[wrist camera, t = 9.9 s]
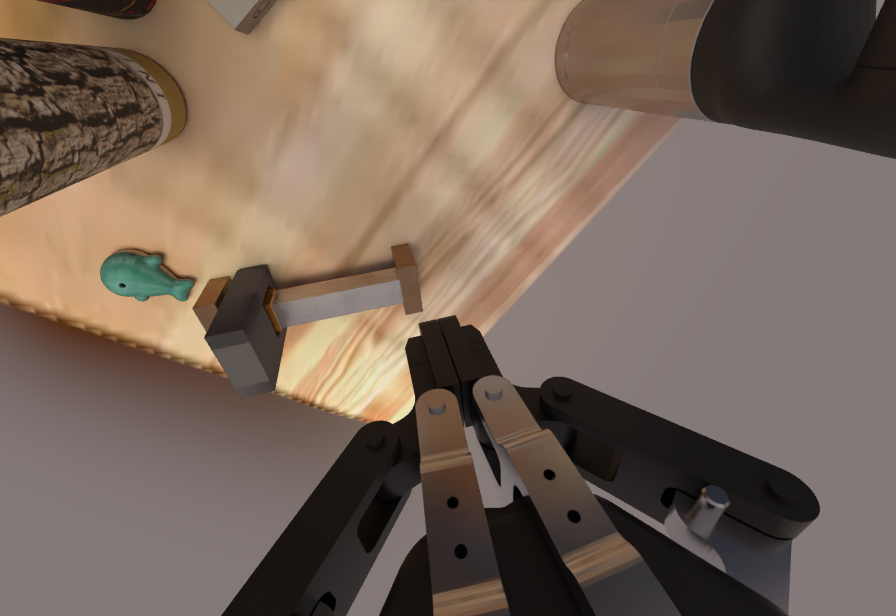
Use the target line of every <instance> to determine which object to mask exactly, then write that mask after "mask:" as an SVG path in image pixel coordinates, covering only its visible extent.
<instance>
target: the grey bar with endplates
mask: <svg viewBox="0 0 896 616" xmlns="http://www.w3.org/2000/svg"><path fill="white" fill-rule="evenodd" d="M391 250H392V255H393V260H394V265H395V268H390V269H385V270H380V271H374V272H369V273H364V274H359V275H354V276H348V277H343V278H338V279H333V280H327V281H322V282H317V283H312V284H306V285H301V286H296V287H291V288H286V289H280V290H275V288H272V289H267V290H266V293H265V296H264V299H263V303H262V305H263V307H264V309H265V311H266V313H267V316H268V318H269V320H270V322H271V324H272V326H273V329H274V331H275V332H278V331H282V328H284V327H289V326H294V325H299V324H304V323H309V322H313V321H318V320H323V319H328V318H333V317H337V316H342V315H347V314H352V313H357V312H362V311H366V310H371V309H376V308H381V307H386V306H390V305H395V304H400V303H403V306H404V309H405V313H406V315H408V314H413V313H417V312H422V311H423V308H422V301H421V294H420V288H419V281H418V274H417V268H416V264H415V261H414V259H413V256H412V254H411V251H410V248H409V246H408V244H403V245H398V246H392V247H391ZM231 282H232V281H231V279H230V277H229V276H227V277H222V278H216V279H211V280H209V282H208V283H207V285H206V287H205V288H204V290H203V291H202V293H201V295H200V296H199V298H198V300H197V301H196V303H195V305H194V306H193V308H192V309H193V310H194V312H195V314H196V315H197V317H198V319H199V320H200V322H201V324H202V325H203V327H204V329H205V330H206V332H207V331H208V329H209V327H210V325H211V323H212V321H213V319H214V317H215V315H216V313H217V311H218V309H219V307H220V305H221V303H222V301H223V298H224V296H225V294H226V292H227V290H228V288H229V286H230V284H231Z"/></svg>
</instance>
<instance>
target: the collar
mask: <svg viewBox="0 0 896 616" xmlns="http://www.w3.org/2000/svg"><path fill="white" fill-rule="evenodd" d="M272 288H275V290H276V287H275V285H274V282H273V280H272V278H271V275H270V273H269V271H268V268H267V266H266V265H265V266H259V267H254V268H248V269H243V270H237V272H236V274H235V276H234V278H233V280H232V282H231V284H230V286H229V288H228V290H227V292H226V294H225V296H224V298H223V301H222V303H221V305H220V307H219V309H218V311H217V313H216V315H215V317H214V319H213V321H212V323H211V325H210V327H209V329H208V331H207V333H206V335H205V337H204V338H205V340H206V341H207V343H208V345H209V346H210V348H211V350H212V351H213V353H214V355H215V356H216V358H217V359H218V361H219V363H220V364H221V366H222V368H223V369H224V371H225V372H226V374H227V376H228V377H229V379H230V381H231V382H232V384H233V386H234V387H235V389H236V390H237V392H238V394H239V395H240V397H241V398H246V397H250V396H254V395H259V394H263V393H267V392H272V391H275V388H276V383H277V377H278V372H279V367H280V362H281V357H282V352H283V347H284V342H285V336H286V331H287V327H284V328H282V331H278V332H275V331H274V329H273V326H272V324H271V322H270V320H269V318H268V316H267V313H266V311H265V309H264V307H263V305H262V303H263V299H264V296H265V293H266V290H267V289H272Z"/></svg>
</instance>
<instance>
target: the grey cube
mask: <svg viewBox="0 0 896 616" xmlns="http://www.w3.org/2000/svg"><path fill="white" fill-rule="evenodd" d="M207 1H208V2H209V3H210V4H211V5H212V6H213V7H214V8H215V10H216V11H217V12H218V13H219V14H220V15H221V16H222V17H223V18H224V19H225V20H226V21H227V22H228V23H229V24H230V25H231V27H232V28H233V29H234V30H237V31H240V32H243V33H245V34H249V33H250V32H251V31H252V30H253V28H254V27H255V26H256V25H257V24H258V22H259V21H260V20H261V19H262V18H263V17H264V15H265V14H266V13H267V12H268V11H269V9H270V8H271V7H272V6H273V5H274V4H275V2H276V1H277V0H207Z"/></svg>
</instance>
